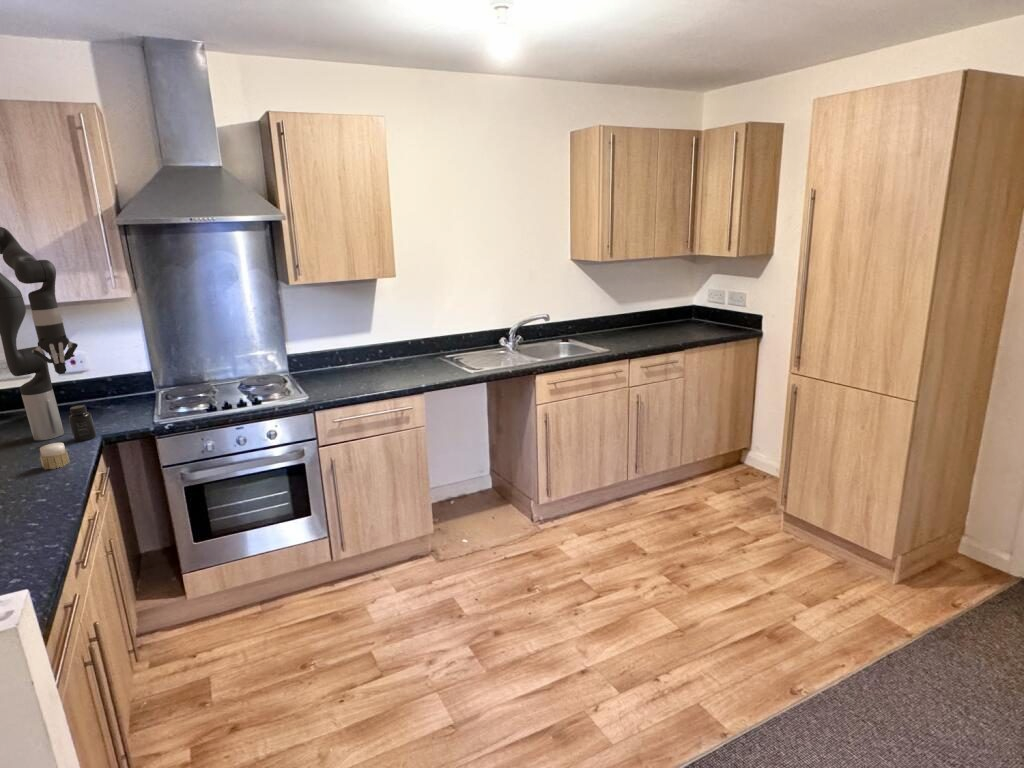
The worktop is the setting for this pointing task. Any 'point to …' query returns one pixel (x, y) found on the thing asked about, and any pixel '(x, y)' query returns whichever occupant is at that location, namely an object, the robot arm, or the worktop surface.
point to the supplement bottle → (81, 423)
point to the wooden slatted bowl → (55, 461)
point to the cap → (52, 450)
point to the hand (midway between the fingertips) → (61, 373)
